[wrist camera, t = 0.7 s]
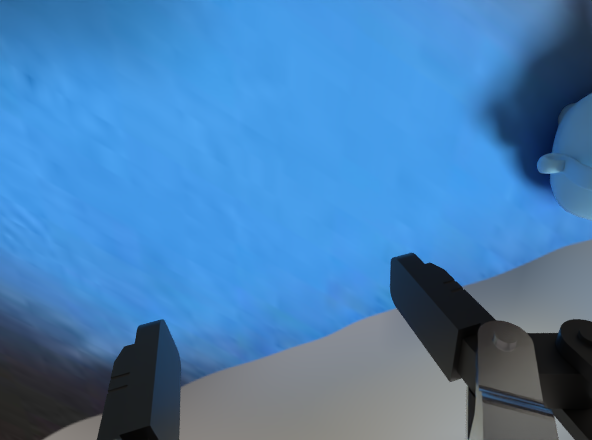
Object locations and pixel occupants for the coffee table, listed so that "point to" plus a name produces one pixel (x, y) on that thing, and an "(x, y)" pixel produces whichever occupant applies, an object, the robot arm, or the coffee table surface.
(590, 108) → the teapot
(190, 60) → the coffee table surface
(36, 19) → the coffee table surface
